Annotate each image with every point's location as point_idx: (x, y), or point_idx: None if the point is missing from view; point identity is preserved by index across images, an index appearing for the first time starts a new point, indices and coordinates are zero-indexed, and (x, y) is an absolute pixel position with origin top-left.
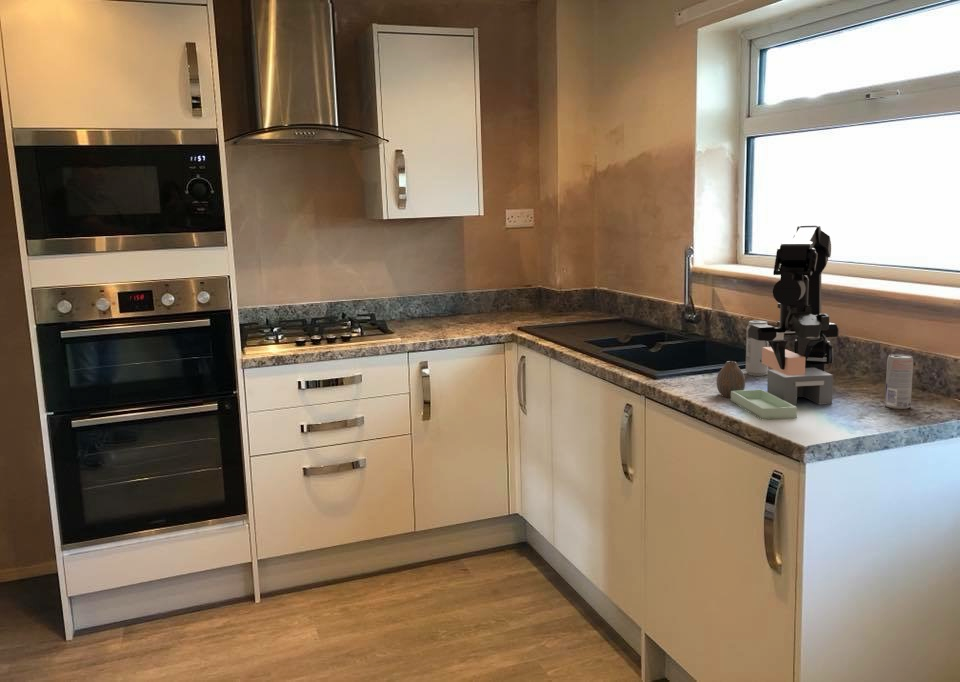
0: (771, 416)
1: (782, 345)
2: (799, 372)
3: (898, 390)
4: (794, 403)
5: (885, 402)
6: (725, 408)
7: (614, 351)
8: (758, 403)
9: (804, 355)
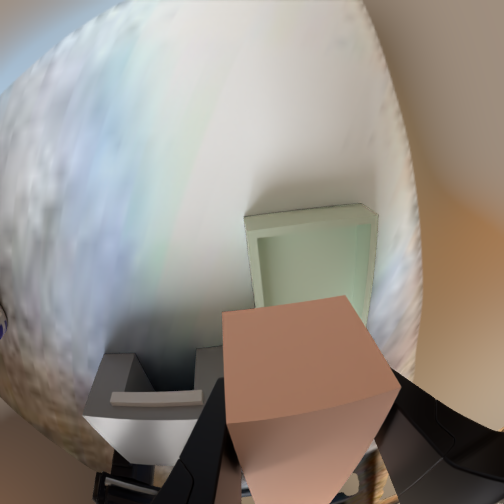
0: (335, 209)
1: (498, 451)
2: (263, 320)
3: None
4: (202, 352)
5: (2, 321)
6: (389, 320)
7: (341, 499)
8: None
9: (220, 452)
